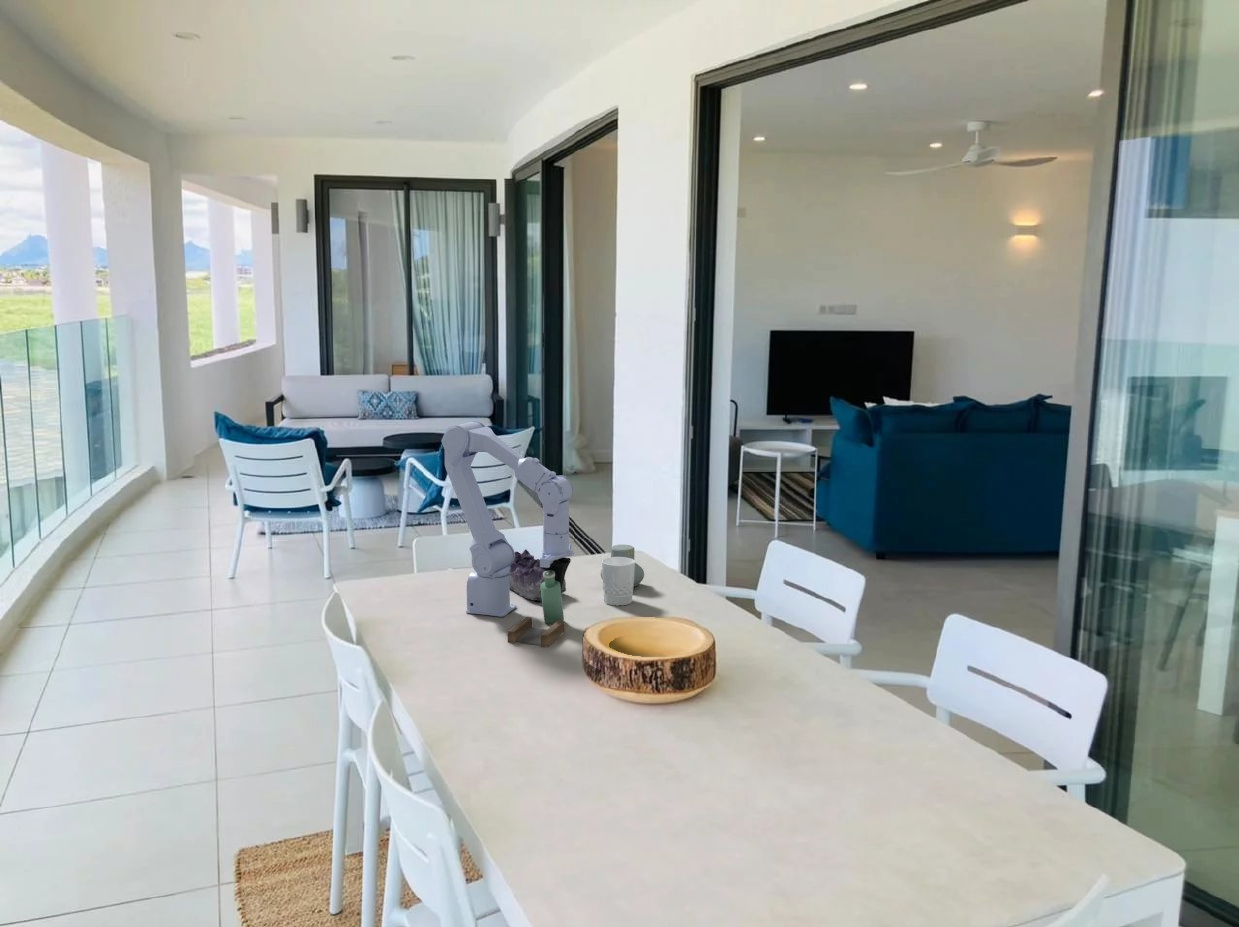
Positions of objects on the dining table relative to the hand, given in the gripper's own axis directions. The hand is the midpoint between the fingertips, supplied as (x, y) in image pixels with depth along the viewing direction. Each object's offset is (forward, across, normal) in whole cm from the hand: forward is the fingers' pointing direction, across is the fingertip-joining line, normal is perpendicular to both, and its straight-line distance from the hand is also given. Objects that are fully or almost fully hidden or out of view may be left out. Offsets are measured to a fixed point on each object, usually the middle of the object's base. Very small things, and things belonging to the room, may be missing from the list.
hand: (556, 590), depth 226 cm
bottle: (+6, -1, 0) cm, 6 cm away
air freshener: (+7, +31, -6) cm, 32 cm away
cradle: (+7, -12, 0) cm, 14 cm away
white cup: (+7, +18, -9) cm, 21 cm away
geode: (+7, +19, +14) cm, 25 cm away
